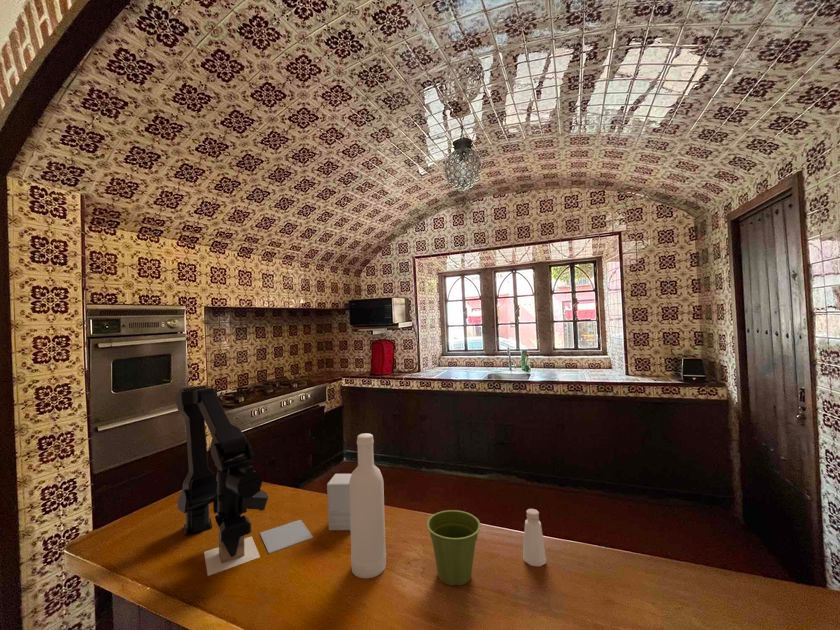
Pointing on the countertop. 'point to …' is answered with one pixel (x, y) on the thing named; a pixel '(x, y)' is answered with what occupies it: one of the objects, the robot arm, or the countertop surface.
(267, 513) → the countertop surface
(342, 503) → the supplement box
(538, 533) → the salt shaker
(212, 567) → the card
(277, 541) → the grey mat
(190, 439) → the robot arm
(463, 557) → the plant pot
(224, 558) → the walnut block
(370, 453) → the bottle
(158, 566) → the countertop surface
